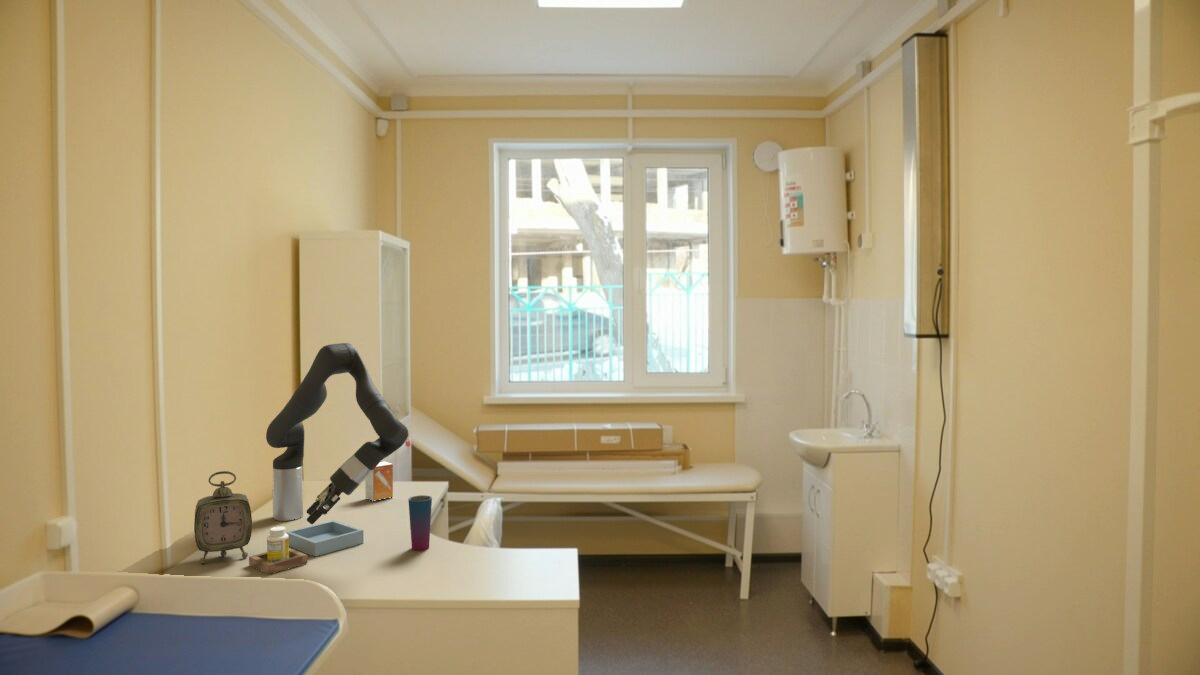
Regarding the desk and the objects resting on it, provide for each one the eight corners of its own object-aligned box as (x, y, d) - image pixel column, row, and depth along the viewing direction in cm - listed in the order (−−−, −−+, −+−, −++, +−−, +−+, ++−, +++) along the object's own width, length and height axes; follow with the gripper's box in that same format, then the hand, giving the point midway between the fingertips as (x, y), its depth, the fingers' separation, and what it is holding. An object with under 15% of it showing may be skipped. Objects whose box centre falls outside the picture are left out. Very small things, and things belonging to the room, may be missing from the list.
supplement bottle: (283, 559, 217) (282, 524, 216) (293, 564, 213) (292, 528, 213) (263, 565, 212) (263, 528, 212) (273, 569, 209) (272, 532, 208)
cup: (436, 546, 229) (436, 496, 228) (422, 553, 223) (422, 502, 222) (418, 543, 232) (418, 494, 231) (403, 549, 226) (403, 499, 225)
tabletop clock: (195, 567, 211) (193, 477, 209) (195, 557, 219) (193, 470, 217) (252, 559, 217) (251, 471, 216) (250, 549, 225) (249, 465, 224)
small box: (373, 502, 278) (373, 466, 278) (365, 499, 283) (364, 464, 282) (393, 498, 284) (393, 463, 283) (385, 495, 288) (384, 460, 288)
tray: (285, 545, 229) (285, 532, 229) (333, 532, 242) (333, 520, 242) (315, 556, 219) (315, 543, 219) (363, 543, 232) (363, 530, 232)
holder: (249, 565, 212) (248, 556, 212) (286, 555, 221) (286, 546, 220) (269, 574, 205) (269, 565, 205) (307, 563, 214) (307, 554, 214)
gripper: (339, 461, 224) (298, 503, 221) (342, 471, 211) (298, 516, 207) (359, 477, 227) (318, 519, 223) (362, 488, 213) (319, 533, 210)
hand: (308, 518), depth 215 cm, fingers open, 8 cm apart
